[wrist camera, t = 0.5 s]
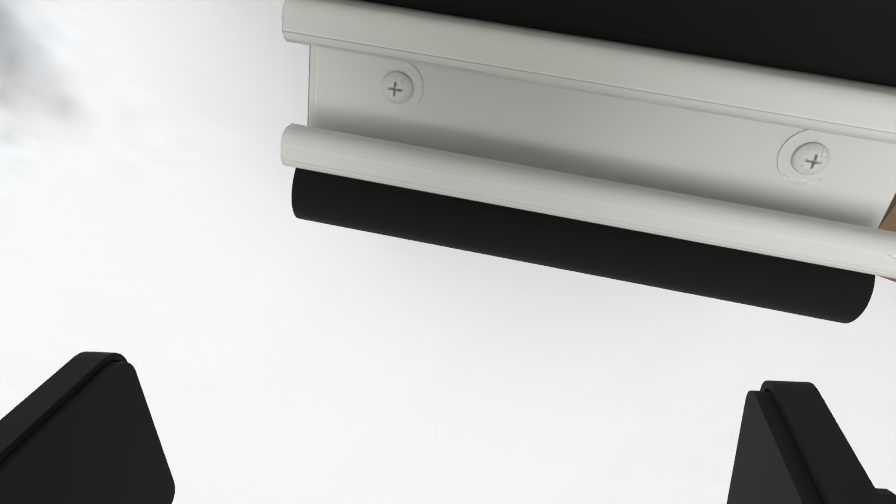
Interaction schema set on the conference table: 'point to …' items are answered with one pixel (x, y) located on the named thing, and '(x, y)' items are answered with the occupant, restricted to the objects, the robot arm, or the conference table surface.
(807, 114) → the device stand
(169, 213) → the conference table surface
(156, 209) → the conference table surface
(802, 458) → the robot arm
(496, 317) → the conference table surface
